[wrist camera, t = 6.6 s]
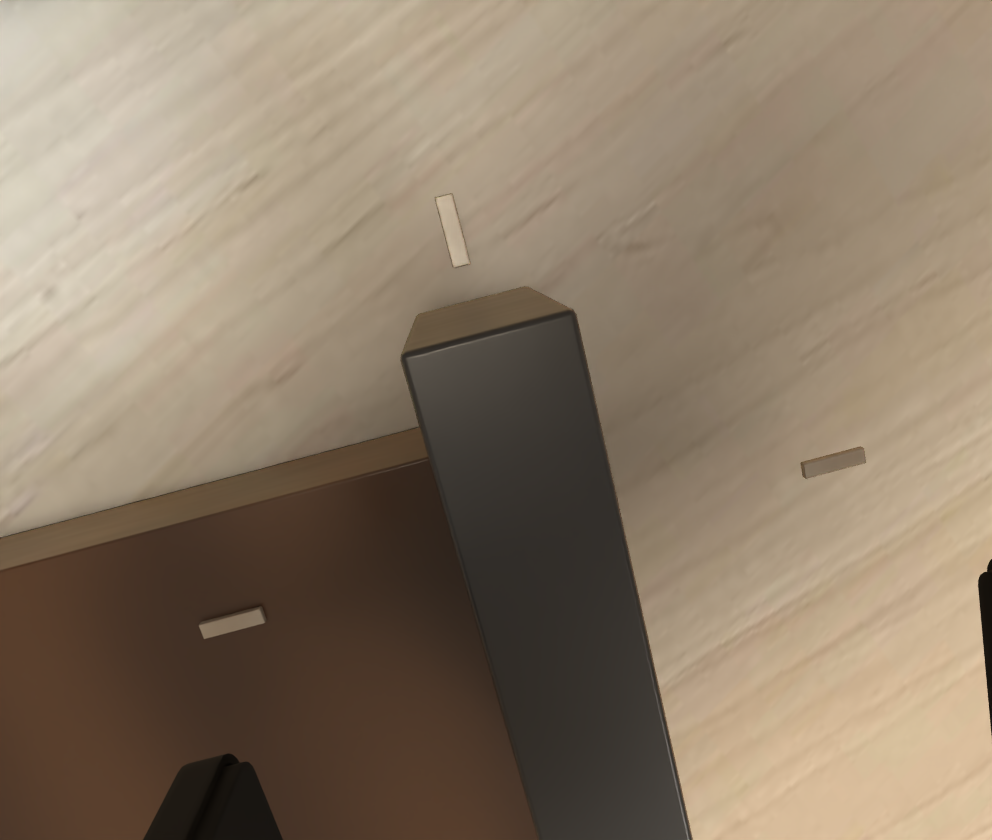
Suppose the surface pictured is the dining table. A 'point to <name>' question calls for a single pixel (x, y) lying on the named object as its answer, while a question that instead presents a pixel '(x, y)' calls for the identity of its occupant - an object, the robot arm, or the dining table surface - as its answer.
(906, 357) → the dining table surface
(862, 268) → the dining table surface
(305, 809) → the rack base
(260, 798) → the robot arm
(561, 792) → the dark grey rectangular block
